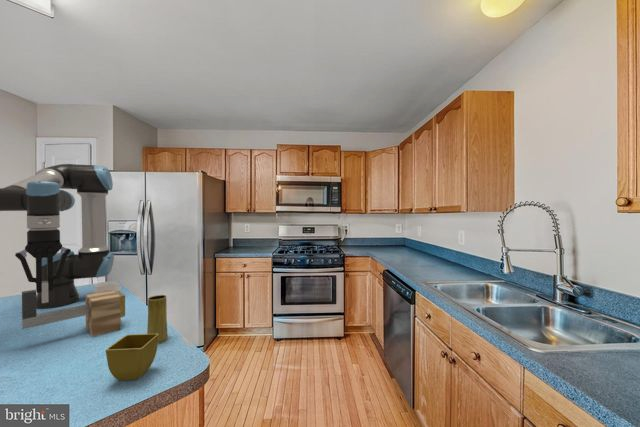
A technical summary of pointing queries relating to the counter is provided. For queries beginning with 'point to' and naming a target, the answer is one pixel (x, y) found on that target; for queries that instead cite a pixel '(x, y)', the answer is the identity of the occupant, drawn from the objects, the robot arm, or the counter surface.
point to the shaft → (48, 317)
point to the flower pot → (132, 356)
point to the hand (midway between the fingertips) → (44, 301)
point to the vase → (157, 317)
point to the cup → (107, 286)
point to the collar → (122, 304)
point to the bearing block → (103, 312)
